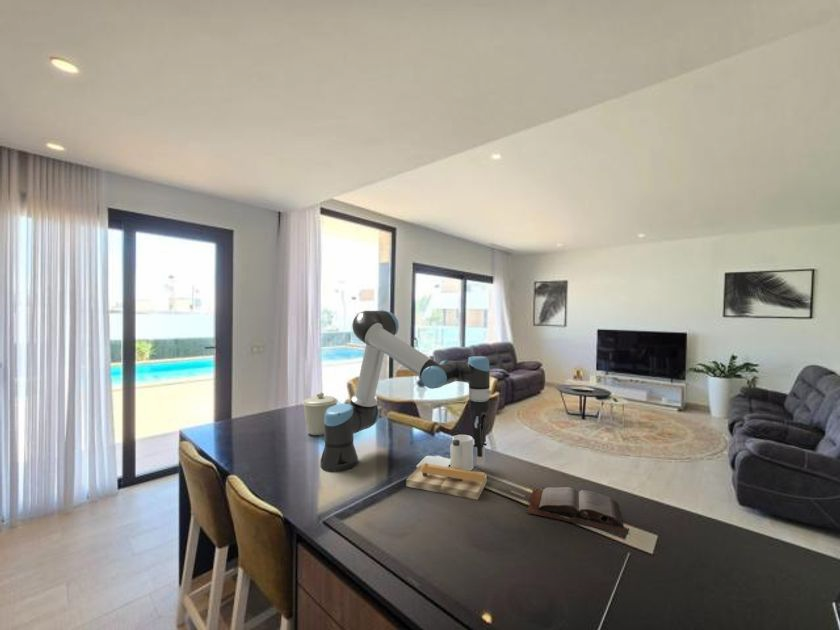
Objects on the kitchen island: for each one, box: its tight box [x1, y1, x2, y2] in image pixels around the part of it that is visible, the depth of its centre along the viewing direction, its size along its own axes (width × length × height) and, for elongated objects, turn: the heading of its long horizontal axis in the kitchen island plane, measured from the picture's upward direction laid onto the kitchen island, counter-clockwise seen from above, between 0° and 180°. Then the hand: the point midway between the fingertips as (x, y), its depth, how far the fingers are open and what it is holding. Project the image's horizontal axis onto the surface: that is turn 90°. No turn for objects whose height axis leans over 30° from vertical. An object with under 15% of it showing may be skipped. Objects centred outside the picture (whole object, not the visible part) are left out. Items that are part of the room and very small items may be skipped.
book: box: [526, 486, 629, 535], centre depth 117 cm, size 20×28×4 cm
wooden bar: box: [421, 463, 486, 483], centre depth 131 cm, size 23×3×3 cm, turn 68°
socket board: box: [405, 465, 488, 501], centre depth 134 cm, size 26×14×4 cm, turn 68°
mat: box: [415, 455, 450, 469], centre depth 151 cm, size 12×12×1 cm
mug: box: [452, 434, 475, 471], centre depth 147 cm, size 12×8×12 cm
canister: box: [301, 391, 339, 436], centre depth 193 cm, size 18×18×21 cm
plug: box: [449, 439, 463, 481], centre depth 134 cm, size 7×7×16 cm
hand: (480, 464), depth 134 cm, fingers closed
